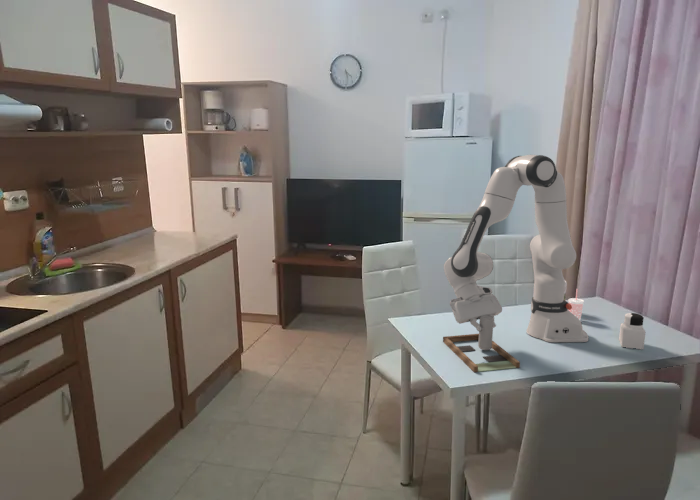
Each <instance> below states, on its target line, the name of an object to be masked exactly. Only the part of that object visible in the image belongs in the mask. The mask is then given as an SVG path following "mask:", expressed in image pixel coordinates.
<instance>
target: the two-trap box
mask: <svg viewBox="0 0 700 500" xmlns="http://www.w3.org/2000/svg"><path fill="white" fill-rule="evenodd" d="M469 341H479V333H471V334H461V335H448V336H447V335H446V336H443V337H442V343H444V344H445V345H446V346H447V347H448V348H449V349H450V351H452V352H453V353H454V354H455V355H456V356H457V357H458V358H459V359H460V360H461V362H463V363H464V364H465V365H466V366H467V367H468V368H469V369H470V371H472V372H473V373H483V372H492V371H501V370H509V369H511V370H512V369H520V368H521V367H520V366H521V362H520V361H519V360H518V359H517V358H516V357H514V356H513V355H512V354H510V352H508V351H506V350H505V349H504V348H503V347H501V346H500V345H499V344H497V343H496V342H495V341H494V340H492V348H491V349H492V350H493V351H495V352H496V353H497V354H496V355H487V356H485V355H484V356H482V358H483V359H484V360H485V361H486V362H481V363H475V362H474V361H473V360H472V359H471V358H470V357H469V356H468V355H466V354H465V352H466V353H467V352H475V351H476V349H475V348H474V347H473V346H472V345H459V346H457V345H456V344H454V343H457V342H459V343H460V342H469Z"/></svg>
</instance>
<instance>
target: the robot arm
mask: <svg viewBox="0 0 700 500" xmlns="http://www.w3.org/2000/svg"><path fill="white" fill-rule="evenodd" d="M565 183H566V182H565V179H564V176H563V174H561V172H559V171H557V167H556V164H555V162H554V160H553V159H552V158H550V157H548V156H546V155H542V154H526V155H517V156H514V157H512V158H510V159H509V160H508V161H507V162H506V163H505V166H501V167H498V168H495V170H493V173H492V174H491V176H490V178H489V180H488V183H487V185H486V188H485V190H484V194H483V197H482V199H481V201H480V203H479V206H478V207H477V209H476V210H475V211H474V213H473V215H472V216H471V219H470V222H469V224H468V226H467V228H466V231H465V234H464V235H463V238H462V240H461V243H460V244H459V246H458V248H457V249H456V251H455V252H454V253H452V256H450V257H449V258H447V259H446V260H445V262H444V264H443V271H444V274H445V277H446V279H447V281H448V282H449V285H450V286H451V287H452V289H453V291H454V294H455V296H456V298H452V299H450V301H449V306H450V308H451V310H452V315H453V316H454V319H455V321H456V323H458V324H459V325H460V324H464V323H470V325H471V326H472V327H474V328H475V329H476V331H477V332H479V331H482V330H483V327H482V325H479V323H478V321H479V320H480V316H484V315H491V316H493V329H494V328H495V327H497V324H496V323H495V316H498V315H499V314H501V313H502V311H503V307H502V304H501V303H500V301H499V300H498V298H497V297H496V295H494V293H493V289H492V288H491V287H485V286H480V285H478V284H477V281H479V280H482V279H485V278H486V277H489V275H490V274H492V271H493V269H494V262H493V258H492V257H491V256H490V254H487V253H484V252H481V251H478V250H479V247H480V245H481V243H482V240H483V238H484V236H485V233H486V232H487V230H488V229H489V228H490V227H491V226H492V225H494V224H497V223H500V222H502V221H504V220H506V219H507V218H508V217H509V215H510V213H512V209H513V207H514V204H515V201H516V198H517V194H518V191H519V189H520V188H521V187H522V186H527V187H528V186H532V189H533V190H534V211H535V212H534V215H535V217H534V219H535V224H536V227H537V230H538V234H537V235H535V236H534V237H532V239H531V240H530V244H529V249H530V253H531V257H532V267H533V269H532V270H533V278H534V279H533V282H534V283H533V296H532V298H531V302H530V303H531V304H530V311H531V314H530V320H529V323H528V326H527V328H526V333H527V334H528V335H529V336H531V337H533V338H536V339H540V340H543V341H545V342H547V343H584V342H585V343H586V342H588V341H589V335H588V333H587V332H586V331H585V330H584V329H583V324H582V321H581V320H579V319H578V318H577V317H576V316H575V315H574V314H572V313H571V312H570V311H569V310H571V309H572V306H571V304H569V302H568V300H567V301H566V299H565V300H564V288H565V281H566V279H565V277H564V274H563V270H566V269H569V268H571V267H572V266H573V265H574V264H575V262H576V259H577V251H576V250H575V247H574V245H573V242H572V238H571V231H570V228H569V224H568V210H567V209H568V207H567V190H566V184H565Z"/></svg>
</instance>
